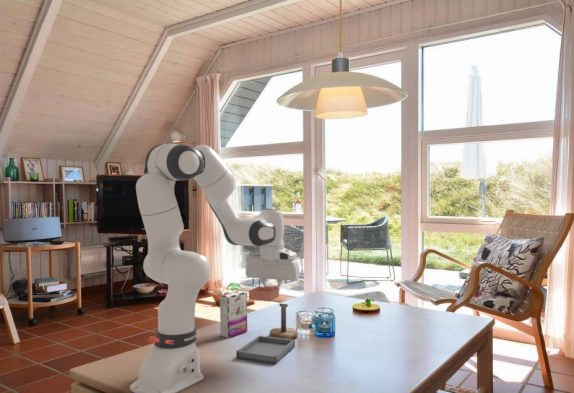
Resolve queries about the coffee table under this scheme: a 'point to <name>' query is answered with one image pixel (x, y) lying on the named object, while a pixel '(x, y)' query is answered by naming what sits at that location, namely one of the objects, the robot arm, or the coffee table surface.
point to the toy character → (368, 302)
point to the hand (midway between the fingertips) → (271, 291)
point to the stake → (283, 327)
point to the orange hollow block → (264, 293)
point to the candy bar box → (233, 314)
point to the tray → (266, 349)
